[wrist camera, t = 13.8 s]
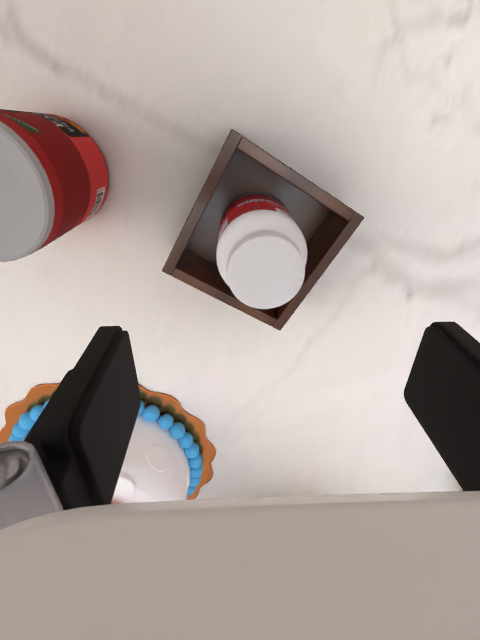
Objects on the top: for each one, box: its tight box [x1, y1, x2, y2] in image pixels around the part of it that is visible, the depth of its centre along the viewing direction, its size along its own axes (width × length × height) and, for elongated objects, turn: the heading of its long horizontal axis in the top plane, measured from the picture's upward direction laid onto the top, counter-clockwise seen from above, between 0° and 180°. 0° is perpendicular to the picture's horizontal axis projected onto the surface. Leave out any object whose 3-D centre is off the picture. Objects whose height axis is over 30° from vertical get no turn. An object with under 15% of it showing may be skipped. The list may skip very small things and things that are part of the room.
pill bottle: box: [216, 192, 307, 309], centre depth 24 cm, size 6×6×11 cm
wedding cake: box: [0, 384, 216, 504], centre depth 37 cm, size 28×28×18 cm
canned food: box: [0, 109, 109, 262], centre depth 23 cm, size 8×8×11 cm
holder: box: [162, 129, 364, 330], centre depth 27 cm, size 11×11×6 cm
